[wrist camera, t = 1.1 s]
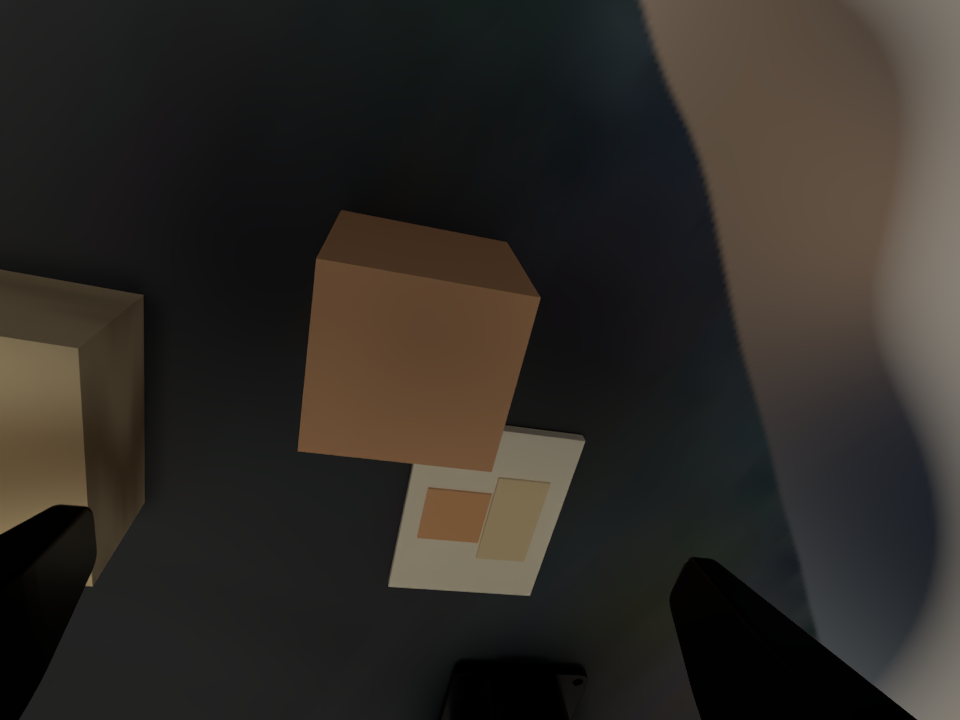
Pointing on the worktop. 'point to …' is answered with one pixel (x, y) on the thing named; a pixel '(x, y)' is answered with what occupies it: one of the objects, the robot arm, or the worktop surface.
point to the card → (485, 517)
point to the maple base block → (71, 404)
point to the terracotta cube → (413, 344)
